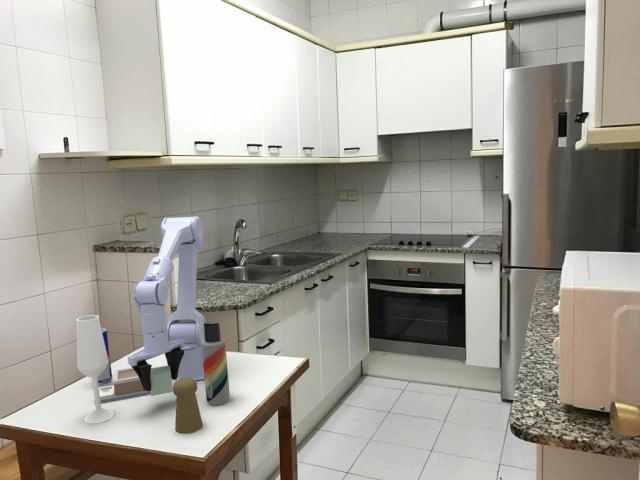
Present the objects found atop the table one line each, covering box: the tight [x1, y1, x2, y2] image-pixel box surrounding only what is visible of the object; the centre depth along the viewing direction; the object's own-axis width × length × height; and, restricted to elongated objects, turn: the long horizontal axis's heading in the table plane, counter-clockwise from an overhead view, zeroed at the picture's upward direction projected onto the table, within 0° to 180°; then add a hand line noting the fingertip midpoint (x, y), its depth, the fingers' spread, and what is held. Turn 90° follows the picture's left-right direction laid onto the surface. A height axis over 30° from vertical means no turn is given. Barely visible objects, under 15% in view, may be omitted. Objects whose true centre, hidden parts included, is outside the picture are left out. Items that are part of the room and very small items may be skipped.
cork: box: [172, 378, 204, 435], centre depth 119 cm, size 6×6×11 cm
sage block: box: [150, 364, 174, 397], centre depth 130 cm, size 5×5×5 cm
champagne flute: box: [75, 314, 115, 424], centre depth 126 cm, size 7×7×24 cm
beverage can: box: [97, 327, 113, 385], centre depth 147 cm, size 5×5×15 cm
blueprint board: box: [93, 367, 151, 404], centre depth 142 cm, size 18×11×5 cm, turn 108°
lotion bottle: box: [201, 321, 231, 406], centre depth 131 cm, size 6×6×20 cm
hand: (160, 384), depth 130 cm, fingers closed on sage block, 7 cm apart
